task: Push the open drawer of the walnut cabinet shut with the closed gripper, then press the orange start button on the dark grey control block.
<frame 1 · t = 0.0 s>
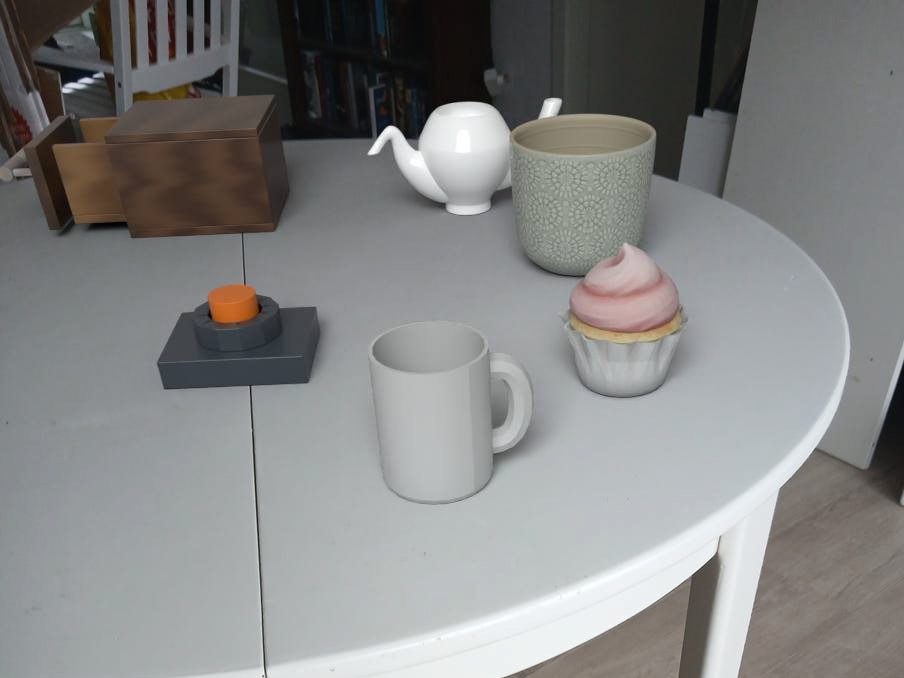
cup: (459, 475, 65), on the table
drawer: (99, 170, 101), point 5 cm above the table, slide at 7.0 cm
cabinet: (214, 213, 104), on the table
control block: (245, 359, 78), on the table
button: (233, 304, 75), point 4 cm above the table, slide at 0.1 cm
cupcake: (620, 381, 73), on the table
planter: (578, 264, 91), on the table
teapot: (468, 209, 103), on the table
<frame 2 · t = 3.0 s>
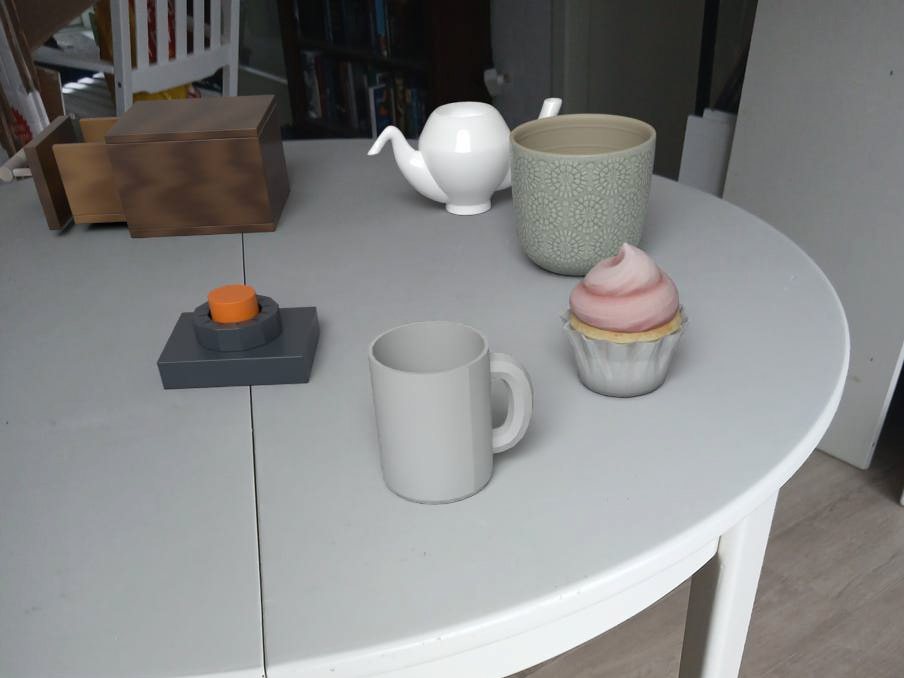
nothing on the table moved.
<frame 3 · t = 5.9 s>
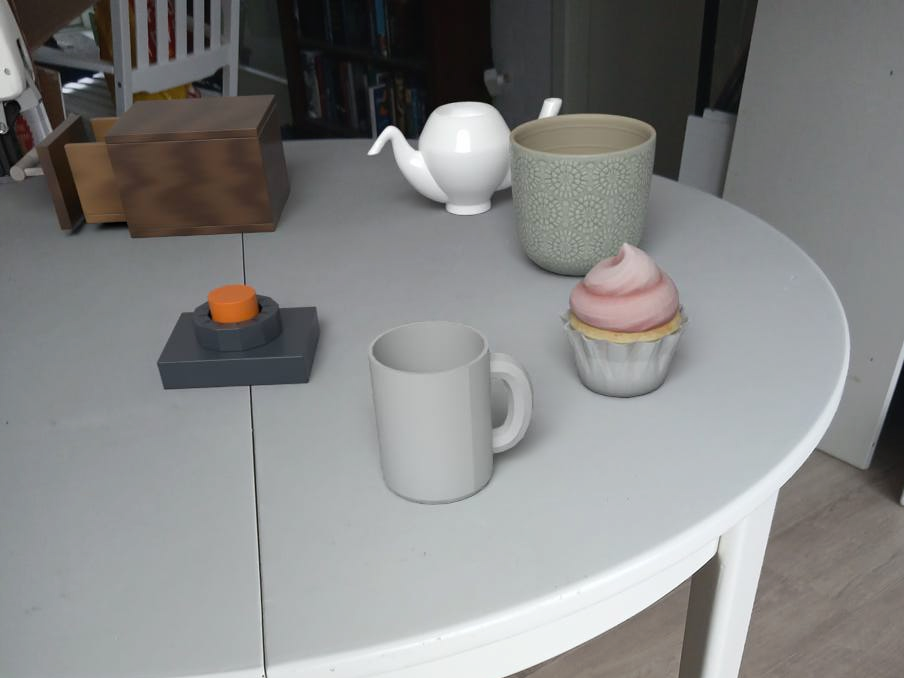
hand: (10, 172, 102), 5 cm above the table, tool pointing down, fingers closed
drawer: (110, 169, 101), point 5 cm above the table, slide at 5.8 cm, touching gripper
everything else where it was.
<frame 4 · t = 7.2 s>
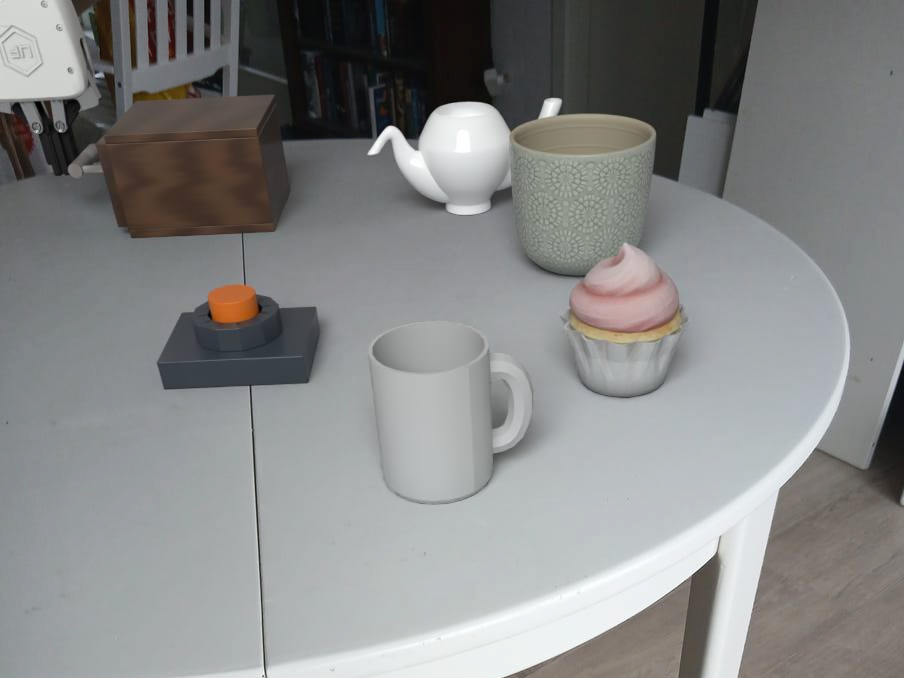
hand: (66, 171, 101), 5 cm above the table, tool pointing down, fingers closed
drawer: (166, 166, 101), point 5 cm above the table, slide at 0.0 cm, touching cabinet, gripper
everything else where it was.
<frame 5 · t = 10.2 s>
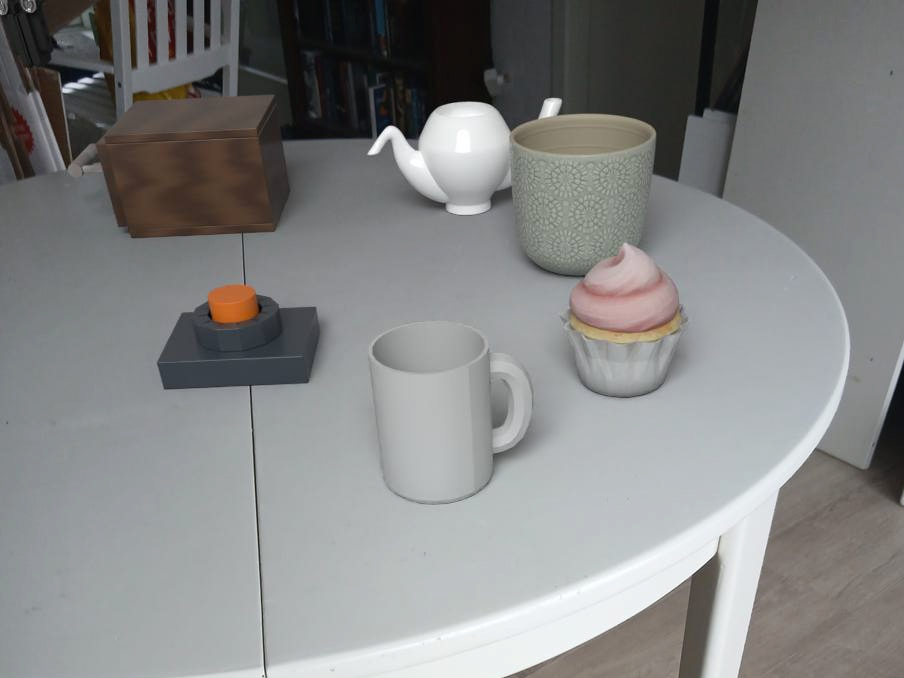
hand: (38, 63, 87), 16 cm above the table, tool pointing down, fingers closed
drawer: (166, 166, 101), point 5 cm above the table, slide at 0.0 cm, touching cabinet
everything else where it was.
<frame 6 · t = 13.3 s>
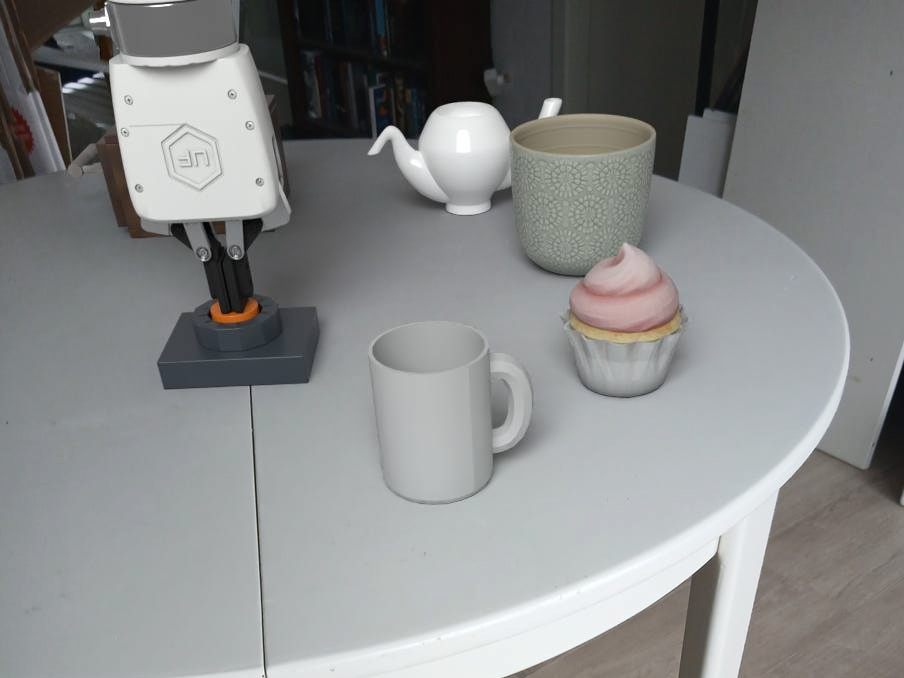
hand: (235, 305, 75), 4 cm above the table, tool pointing down, fingers closed
button: (236, 317, 76), point 3 cm above the table, slide at -0.9 cm, touching gripper
everything else where it was.
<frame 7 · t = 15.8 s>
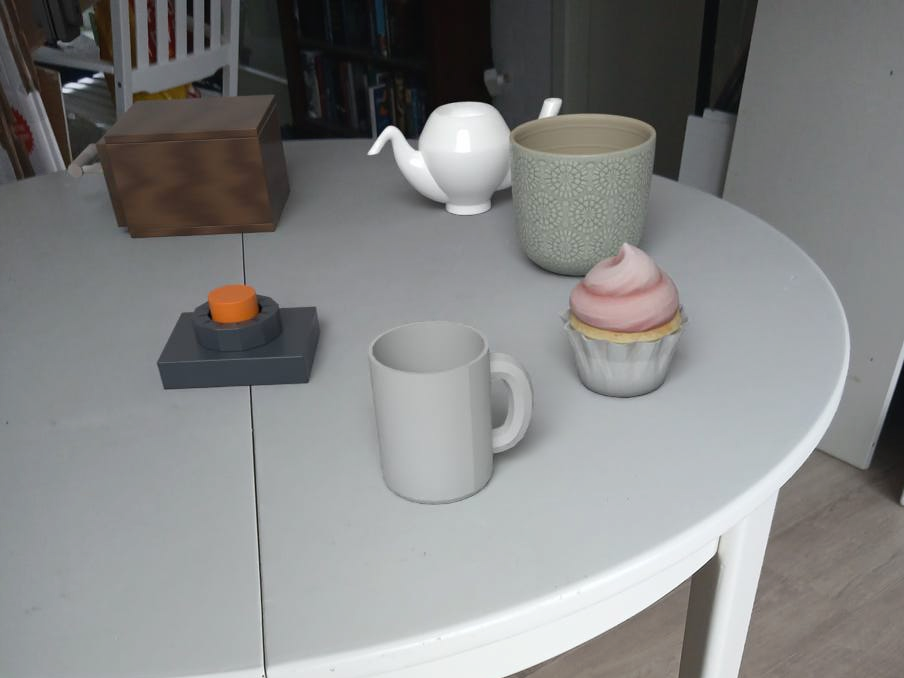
hand: (64, 38, 73), 21 cm above the table, tool pointing down, fingers closed
button: (233, 304, 75), point 4 cm above the table, slide at 0.1 cm
everything else where it was.
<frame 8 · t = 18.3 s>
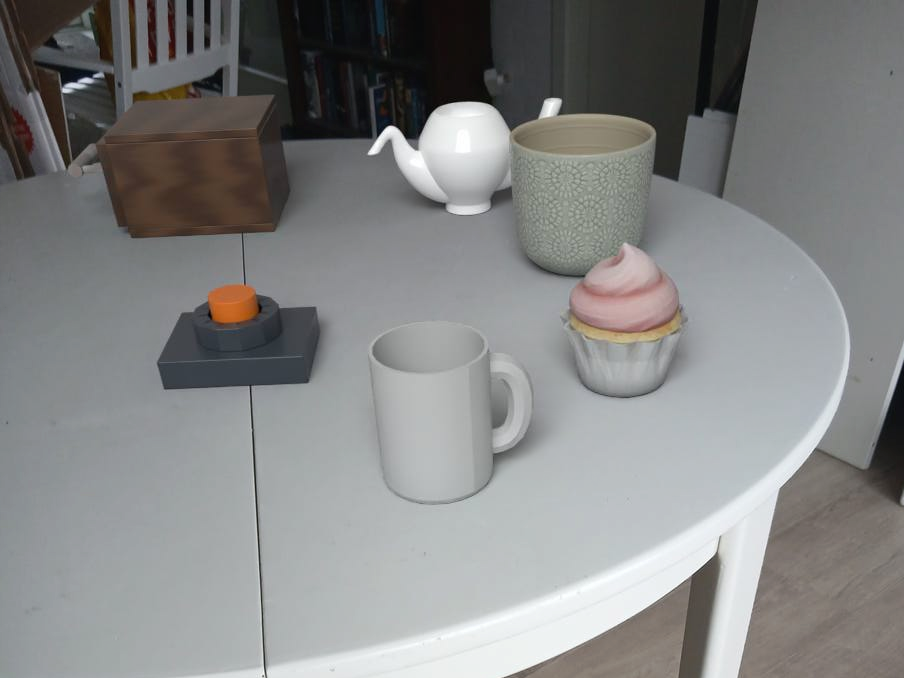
nothing on the table moved.
at the end: drawer slide at 0.0 cm; button pushed in 1.1 cm at the most during the clip, back to where it started at the end; button slide at 0.1 cm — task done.
